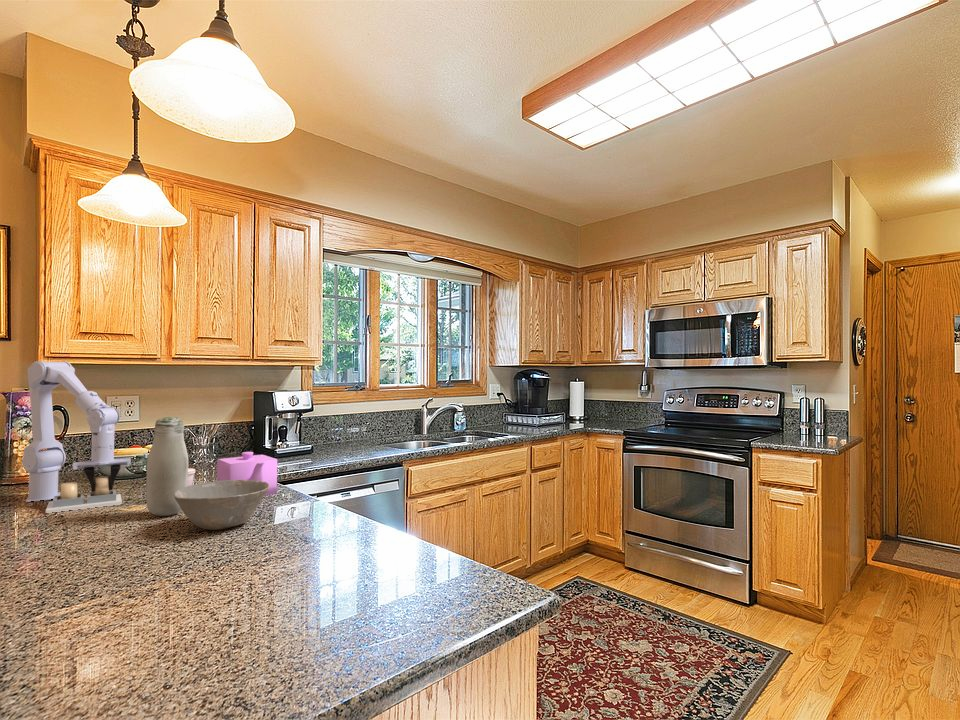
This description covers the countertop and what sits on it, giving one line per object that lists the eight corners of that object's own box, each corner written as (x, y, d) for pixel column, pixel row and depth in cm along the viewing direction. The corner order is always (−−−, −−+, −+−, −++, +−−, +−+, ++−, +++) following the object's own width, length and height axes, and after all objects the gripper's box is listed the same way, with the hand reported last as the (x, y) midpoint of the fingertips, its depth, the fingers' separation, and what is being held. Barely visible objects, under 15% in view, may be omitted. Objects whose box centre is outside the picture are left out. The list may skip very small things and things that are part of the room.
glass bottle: (141, 521, 142) (143, 418, 143) (153, 511, 152) (155, 415, 153) (181, 518, 145) (183, 418, 146) (190, 509, 155) (192, 415, 156)
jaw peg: (94, 496, 162) (94, 476, 162) (109, 494, 164) (110, 475, 165) (93, 498, 159) (94, 479, 159) (109, 497, 161) (110, 477, 161)
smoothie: (187, 503, 162) (188, 458, 162) (167, 503, 162) (168, 458, 162) (199, 498, 168) (199, 455, 169) (179, 498, 168) (180, 454, 169)
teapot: (237, 505, 160) (237, 459, 161) (212, 491, 179) (212, 450, 179) (285, 497, 171) (286, 454, 171) (257, 485, 189) (257, 446, 189)
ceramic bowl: (154, 530, 134) (155, 491, 134) (233, 510, 154) (234, 476, 155) (209, 544, 124) (210, 502, 124) (286, 520, 144) (286, 484, 144)
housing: (48, 505, 159) (49, 482, 159) (120, 496, 169) (120, 475, 169) (45, 513, 149) (46, 489, 149) (121, 504, 160) (122, 481, 160)
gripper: (73, 450, 154) (71, 496, 154) (131, 446, 163) (130, 489, 163) (73, 447, 160) (72, 491, 160) (130, 443, 169) (129, 485, 168)
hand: (101, 490), depth 162 cm, fingers closed on jaw peg, 4 cm apart
